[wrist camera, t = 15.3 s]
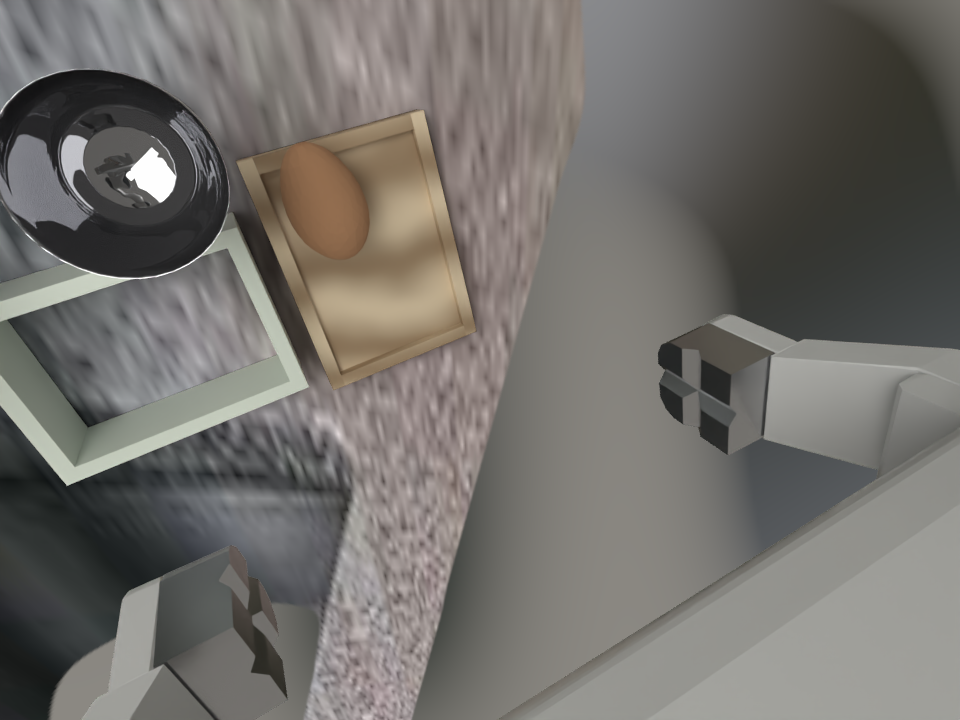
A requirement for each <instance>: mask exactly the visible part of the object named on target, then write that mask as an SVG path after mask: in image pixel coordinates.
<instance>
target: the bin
mask: <svg viewBox="0 0 960 720" xmlns="http://www.w3.org/2000/svg"><path fill="white" fill-rule="evenodd" d="M226 248H228V250H229V253H230V255H231V257H232V259H233V261H234V263H235V265H236V267H237V270H238V272H239V274H240V276H241V278H242V280H243V282H244V284H245V287H246V289H247V291H248V293H249V295H250V297H251V299H252V301H253V304H254V306H255V308H256V310H257V312H258V314H259V316H260V318H261V321H262V323H263V325H264V327H265V329H266V331H267V333H268V335H269V338H270V340H271V342H272V344H273V346H274V348H275V350H276V352H277V354H278V355H276V356H273V357H270V358H268V359H265V360H263V361H260V362H257V363H255V364H252V365H250V366H247V367H244V368H242V369H239V370H237V371H234V372H231V373H229V374H226V375H224V376H221V377H218V378H216V379H213V380H211V381H208V382H205V383H203V384H200V385H198V386H195V387H192V388H190V389H187V390H185V391H182V392H179V393H177V394H174V395H172V396H169V397H166V398H164V399H161V400H159V401H156V402H153V403H151V404H148V405H146V406H143V407H140V408H138V409H135V410H133V411H130V412H127V413H125V414H122V415H120V416H117V417H114V418H112V419H109V420H107V421H104V422H101V423H99V424H96V425H94V426H91V427H87V426H86V425H85V423H84V422H83V421H82V419H81V418H80V417H79V415H78V414H77V413H76V411H75V410H74V409H73V407H72V406H71V405H70V403H69V402H68V401H67V399H66V398H65V397H64V395H63V394H62V393H61V391H60V390H59V388H58V387H57V386H56V384H55V383H54V382H53V380H52V379H51V378H50V376H49V375H48V374H47V372H46V371H45V370H44V368H43V367H42V366H41V364H40V363H39V362H38V360H37V359H36V358H35V356H34V355H33V354H32V352H31V351H30V350H29V348H28V347H27V346H26V344H25V343H24V342H23V340H22V339H21V338H20V336H19V335H18V334H17V332H16V331H15V330H14V328H13V327H12V326H11V324H10V323H9V322H8V320H7V319H10V318H13V317H16V316H19V315H22V314H25V313H28V312H32V311H35V310H38V309H41V308H44V307H47V306H50V305H53V304H56V303H59V302H62V301H66V300H69V299H72V298H75V297H78V296H81V295H84V294H87V293H90V292H93V291H96V290H99V289H103V288H106V287H109V286H112V285H115V284H118V283H121V282H124V281H127V280H130V279H121V278H113V277H107V276H102V275H97V274H94V273H91V272H88V271H84V270H81V269H78V268H76V267H74V266H72V265H70V264H68V263H65V264H62V265H58V266H55V267H52V268H49V269H45V270H42V271H39V272H36V273H32V274H29V275H26V276H23V277H19V278H16V279H13V280H10V281H6V282H3V283H0V406H1V407H2V408H3V409H4V410H5V412H6V413H7V414H8V415H9V416H10V418H11V419H12V420H13V421H14V422H15V424H16V425H17V426H18V427H19V428H20V430H21V431H22V432H23V433H24V434H25V436H26V437H27V438H28V439H29V440H30V442H31V443H32V444H33V445H34V446H35V448H36V449H37V450H38V451H39V452H40V454H41V455H42V456H43V457H44V458H45V460H46V461H47V462H48V463H49V464H50V466H51V467H52V468H53V469H54V471H55V472H56V473H57V474H58V475H59V477H60V478H61V479H62V480H63V481H64V483H65V484H66V485H70V484H72V483H75V482H77V481H79V480H82V479H84V478H87V477H89V476H92V475H94V474H97V473H99V472H102V471H104V470H106V469H109V468H111V467H114V466H116V465H119V464H121V463H124V462H126V461H129V460H131V459H134V458H136V457H138V456H141V455H143V454H146V453H148V452H151V451H153V450H156V449H158V448H161V447H163V446H165V445H168V444H170V443H173V442H175V441H178V440H180V439H183V438H185V437H188V436H190V435H193V434H195V433H197V432H200V431H202V430H205V429H207V428H210V427H212V426H215V425H217V424H220V423H222V422H224V421H227V420H229V419H232V418H234V417H237V416H239V415H242V414H244V413H247V412H249V411H251V410H254V409H256V408H259V407H261V406H264V405H266V404H269V403H271V402H274V401H276V400H279V399H281V398H283V397H286V396H288V395H291V394H293V393H296V392H298V391H301V390H303V389H306V388H308V387H309V386H308V383H307V380H306V378H305V375H304V372H303V369H302V367H301V364H300V361H299V359H298V356H297V354H296V352H295V350H294V348H293V345H292V343H291V341H290V339H289V336H288V334H287V332H286V330H285V327H284V325H283V323H282V321H281V319H280V316H279V314H278V312H277V310H276V307H275V305H274V303H273V301H272V299H271V296H270V294H269V292H268V290H267V287H266V285H265V283H264V281H263V279H262V276H261V274H260V272H259V270H258V267H257V265H256V263H255V261H254V258H253V256H252V254H251V252H250V250H249V247H248V245H247V243H246V241H245V238H244V236H243V234H242V232H241V230H240V227H239V225H238V223H237V221H236V218H235V216H234V214H233V212H231V213H228V214H227V217H226V220H225V222H224V225H223V227H222V230H221V232H220V234H219V235H218V237H217V238H216V240H215V241H214V243H213V244H212V246H211V247H210V248H209V249H208V250H207V251H206V252H205V253H204V254H203V255H202V256H205V255H208V254H211V253H214V252H217V251H220V250H223V249H226Z"/></svg>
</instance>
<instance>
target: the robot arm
mask: <svg viewBox="0 0 960 720" xmlns="http://www.w3.org/2000/svg"><path fill="white" fill-rule="evenodd" d="M658 364H659V365H660V366H661V367H662V368H663V369H665V372H664V374H663V376H662V378H661V380H660V382H659V386H660V397H661V399H662V401H663V403H664V405H665V408H666V409H667V411H668V412H669V413H670V414H671V415H672V416H673V418H675V419H676V420H677V421H679V422H680V423H682V424H683V425H688V426H694V427H698V428H699V432H700V437H702V438H703V439H705V440H706V441H708V442H709V443H711V444H712V445H713V446H715V447H716V448H718V449H719V450H721V451H722V452H724V453H725V454H727V455H729V454H731V453H733V452H735V451H737V450H739V449H741V448H743V447H745V446H747V445H749V444H751V443H753V442H754V441H756V440H758V439H760V438H762V437H764V439H766V440H770V441H773V442H776V443H780V444H784V445H788V446H791V447H795V448H799V449H802V450H806V451H810V452H814V453H818V454H821V455H825V456H828V457H832V458H836V459H839V460H843V461H847V462H850V463H854V464H858V465H862V466H865V467H869V468H873V469H876V470H878V474H877V478H876V480H875V481H873V482H872V483H870V484H869V485H867V486H866V487H864V488H862V489H861V490H859V491H858V492H856V493H855V494H853V495H851V496H850V497H848V498H847V499H845V500H843V501H842V502H840V503H839V504H837V505H836V506H834V507H832V508H831V509H829V510H828V511H826V512H824V513H823V514H821V515H820V516H818V517H817V518H815V519H813V520H812V521H810V522H809V523H807V524H805V525H804V526H802V527H801V528H799V529H798V530H796V531H794V532H793V533H791V534H790V535H788V536H787V537H785V538H783V539H782V540H780V541H779V542H777V543H775V544H774V545H772V546H771V547H769V548H768V549H766V550H765V551H763V552H761V553H760V554H758V555H756V556H755V557H753V558H752V559H750V560H749V561H747V562H745V563H744V564H742V565H741V566H739V567H738V568H736V569H735V570H733V571H731V572H730V573H728V574H726V575H725V576H723V577H722V578H720V579H719V580H717V581H716V582H714V583H712V584H711V585H709V586H708V587H706V588H704V589H703V590H701V591H700V592H698V593H696V594H695V595H693V596H692V597H690V598H689V599H687V600H686V601H684V602H682V603H681V604H679V605H678V606H676V607H674V608H673V609H671V610H670V611H668V612H666V613H665V614H663V615H662V616H660V617H659V618H657V619H655V620H654V621H652V622H651V623H649V624H648V625H646V626H644V627H643V628H641V629H640V630H638V631H636V632H635V633H633V634H632V635H630V636H628V637H627V638H625V639H624V640H622V641H621V642H619V643H617V644H616V645H614V646H613V647H611V648H609V649H608V650H606V651H605V652H603V653H602V654H600V655H598V656H597V657H595V658H594V659H592V660H591V661H589V662H587V663H586V664H584V665H583V666H581V667H580V668H578V669H576V670H575V671H573V672H571V673H570V674H569V675H567V676H565V677H564V678H562V679H561V680H559V681H557V682H556V683H554V684H553V685H551V686H549V687H548V688H546V689H545V690H543V691H541V692H540V693H538V694H537V695H535V696H533V697H532V698H530V699H529V700H527V701H526V702H524V703H522V704H521V705H519V706H518V707H516V708H515V709H513V710H511V711H510V712H508V713H507V714H505V715H503V716H502V717H501V718H499V719H497V720H960V350H957V349H946V348H944V349H943V348H930V347H913V346H899V345H884V344H869V343H853V342H837V341H823V340H807V339H804V340H802V341H800V342H796V341H794V340H792V339H789V338H787V337H784V336H782V335H780V334H777V333H775V332H772V331H770V330H767V329H765V328H763V327H760V326H758V325H755V324H753V323H751V322H748V321H746V320H743V319H741V318H739V317H736V316H734V315H726V314H723V315H721V316H719V317H717V318H715V319H713V320H711V321H709V322H707V323H705V324H703V325H702V326H700V327H698V328H696V329H694V330H692V331H690V332H687V333H685V334H683V335H681V336H679V337H677V338H675V339H673V340H670V341H669V342H666V343H664V344H662V345H661V347H660V349H659V352H658ZM278 636H279V634H278V628H277V621H276V618H275V614H274V611H273V608H272V604H271V601H270V599H269V597H268V595H267V593H266V591H265V589H264V587H263V586H262V584H261V583H260V581H259V580H258V579H256V578H252V577H249V576H248V573H247V564H246V560H245V558H244V557H243V556H242V554H241V553H240V551H239V550H238V549H237V547H235V546H232V545H230V546H228V547H226V548H224V549H221V550H219V551H217V552H215V553H212V554H210V555H208V556H206V557H203V558H201V559H199V560H196V561H194V562H192V563H190V564H187V565H185V566H183V567H181V568H178V569H176V570H174V571H172V572H169V573H167V574H165V575H164V576H162V577H159V578H157V579H155V580H152V581H150V582H148V583H146V584H144V585H141V586H139V587H137V588H135V589H132V590H130V591H128V593H127V594H126V595H125V597H124V598H123V600H122V605H121V611H120V617H119V624H118V630H117V636H116V643H115V649H114V656H113V662H112V668H111V675H110V681H109V687H108V693H106V694H104V695H102V696H100V697H98V698H96V699H95V701H94V702H93V704H92V705H91V706H90V708H89V709H88V711H87V712H86V713H85V715H84V716H83V718H82V719H81V720H255V719H257V718H258V717H260V716H262V715H263V714H265V713H267V712H269V711H270V710H272V709H274V708H275V707H277V706H279V705H280V704H282V703H283V702H285V701H287V700H288V697H287V690H286V682H285V675H284V668H283V661H282V659H281V658H280V656H279V655H278V653H277V652H276V650H275V649H274V645H275V643H276V641H277V638H278Z"/></svg>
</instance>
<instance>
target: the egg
mask: <svg viewBox="0 0 960 720" xmlns="http://www.w3.org/2000/svg"><path fill="white" fill-rule="evenodd" d="M280 188H281V195H282V201H283V205H284V208H285V211H286V214H287V216H288V218H289V221H290V223H291V225H292V227H293V228H294V230H295V231H296V233H297V234H298V235H299V237H300V238H301V239H302V240H303V241H304V243H305V244H307V245H308V246H309V247H310V248H311V249H313V250H314V251H316V252H318V253H319V254H321V255H323V256H325V257H328V258H331V259H336V260H345V259H349V258H351V257H353V256H355V255H356V254H357V253H358V252H359V251H360V250H361V249H362V248H363V246H364V244H365V242H366V240H367V236H368V232H369V226H370V218H369V209H368V205H367V202H366V199H365V196H364V194H363V192H362V189H361V187H360V185H359V183H358V182H357V180H356V178H355V177H354V175H353V174H352V172H351V171H350V170H349V169H348V168H347V167H346V166H345V165H344V164H343V162H342V161H341V160H340V159H339V158H337V157H336V156H335V155H334V154H333V153H331V152H330V151H329V150H328V149H326V148H324V147H322V146H320V145H317V144H314V143H310V142H300V143H296V144H295V145H293V146H291V147H290V148H289V149H288V151H287V152H286V154H285V155H284V158H283V161H282V165H281V169H280Z"/></svg>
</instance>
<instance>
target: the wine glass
mask: <svg viewBox="0 0 960 720" xmlns="http://www.w3.org/2000/svg"><path fill="white" fill-rule="evenodd" d="M0 200H1V201H2V203H3V205H4V206H5V208H6V210H7V211H8V213H9V215H10V216H11V218H12V219H13V220H14V221H15V222H16V224H17V225H18V226H19V227H20V228H21V229H22V231H23V232H24V233H25V234H26V235H27V236H28V237H30V238H31V239H32V240H33V241H34V242H35V243H36V244H38V245H39V246H40V247H41V248H42V249H44V250H46V251H47V252H49V253H50V254H52V255H53V256H55V257H56V258H58V259H59V260H61V261H64V262H66V263H68V264H70V265H72V266H74V267H76V268H78V269H81V270H84V271H88V272H91V273H94V274H97V275H102V276H107V277H113V278H121V279H142V278H151V277H158V276H161V275H165V274H169V273H172V272H175V271H177V270H179V269H181V268H183V267H185V266H188V265H189V264H191V263H192V262H193V261H195V260H196V259H198V258H199V257H201V256H202V255H203V254H204V253H205V252H206V251H207V250H208V249H209V248H210V247H211V246H212V244H213V243H214V241H215V240H216V238H217V237H218V235H219V234H220V232H221V230H222V227H223V225H224V222H225V220H226V217H227V212H228V207H229V201H230V184H229V178H228V173H227V168H226V164H225V161H224V159H223V156H222V154H221V151H220V148H219V146H218V145H217V143H216V141H215V139H214V138H213V136H212V134H211V132H210V131H209V130H208V128H207V127H206V126H205V125H204V123H203V122H202V121H201V120H200V118H199V117H198V116H197V115H196V114H195V113H194V112H193V111H192V110H191V109H190V108H189V107H188V106H187V105H186V104H185V103H183V102H182V101H181V100H179V99H178V98H176V97H175V96H173V95H172V94H171V93H169V92H168V91H166V90H165V89H163V88H161V87H159V86H157V85H155V84H153V83H151V82H149V81H147V80H144V79H141V78H138V77H135V76H132V75H129V74H126V73H122V72H116V71H110V70H105V69H73V70H67V71H61V72H56V73H53V74H50V75H47V76H45V77H42V78H39V79H37V80H35V81H33V82H32V83H30V84H28V85H27V86H25V87H24V88H22V89H21V90H19V91H18V92H17V93H16V94H15V95H14V96H13V97H12V98H11V99H10V100H9V101H8V102H7V103H6V104H5V106H4V108H3V109H2V111H1V113H0Z"/></svg>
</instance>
